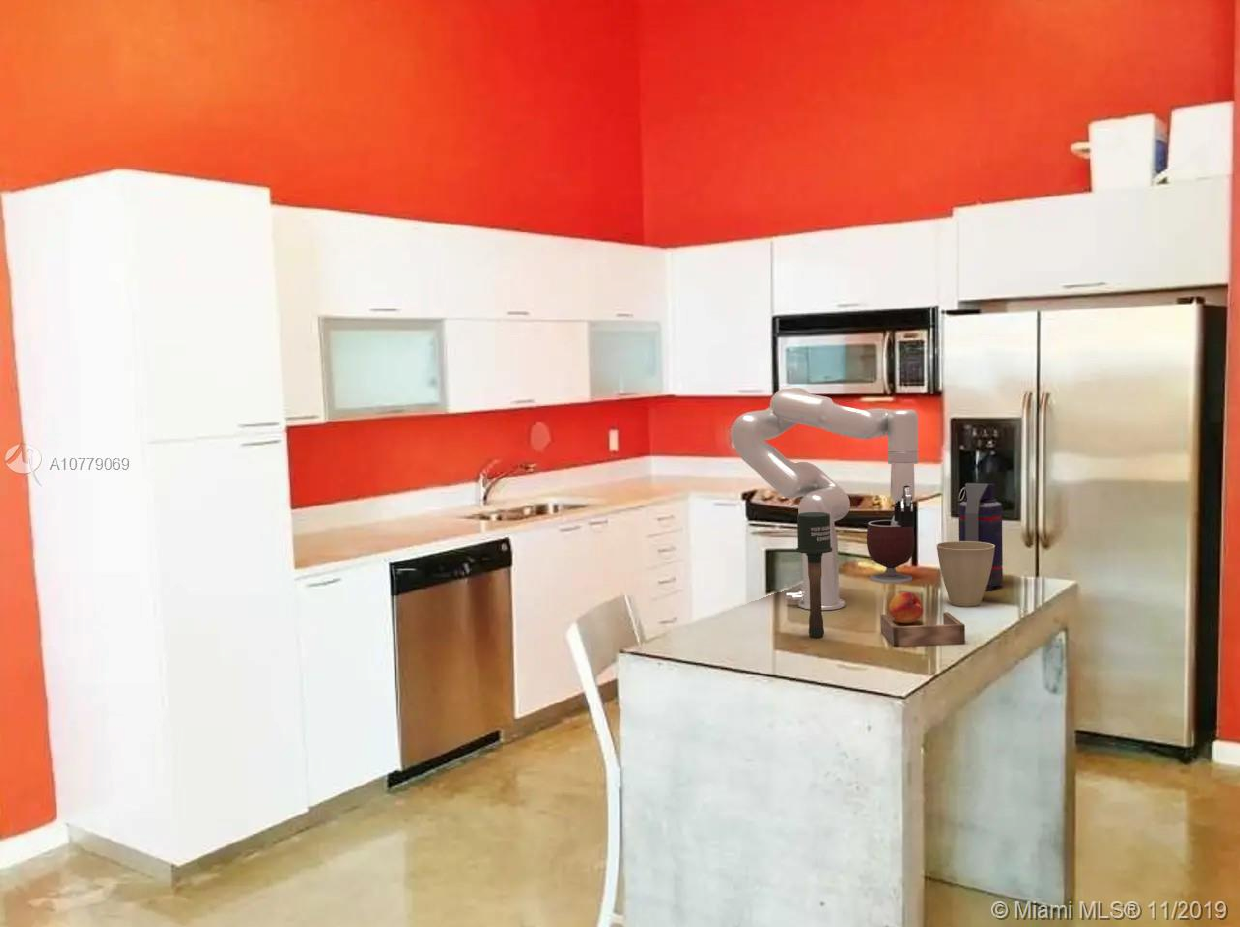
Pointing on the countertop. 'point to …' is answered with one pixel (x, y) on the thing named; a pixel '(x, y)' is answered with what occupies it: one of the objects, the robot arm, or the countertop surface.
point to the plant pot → (965, 570)
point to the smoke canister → (983, 524)
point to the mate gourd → (890, 548)
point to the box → (924, 633)
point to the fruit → (905, 607)
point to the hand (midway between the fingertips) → (903, 523)
